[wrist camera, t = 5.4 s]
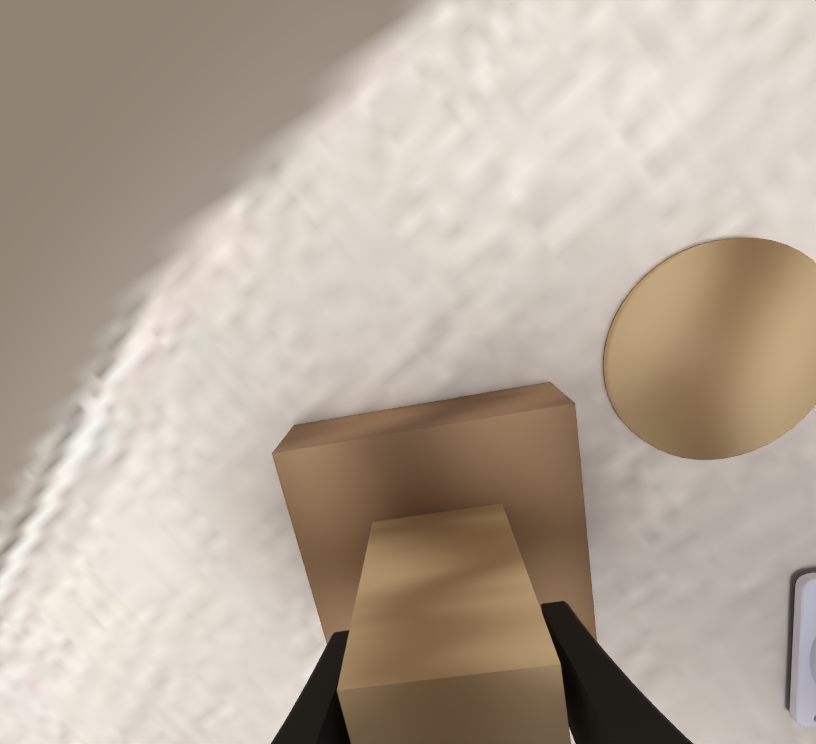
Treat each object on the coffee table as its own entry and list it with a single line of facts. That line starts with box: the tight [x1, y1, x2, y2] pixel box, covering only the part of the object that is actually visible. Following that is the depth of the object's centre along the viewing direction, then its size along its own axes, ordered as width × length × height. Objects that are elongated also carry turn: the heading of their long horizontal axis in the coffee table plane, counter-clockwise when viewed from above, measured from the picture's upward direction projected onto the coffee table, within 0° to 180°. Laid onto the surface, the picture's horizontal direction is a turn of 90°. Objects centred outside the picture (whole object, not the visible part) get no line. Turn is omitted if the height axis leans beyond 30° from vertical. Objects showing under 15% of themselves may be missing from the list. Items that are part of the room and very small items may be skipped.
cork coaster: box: [604, 238, 816, 460], centre depth 15 cm, size 8×8×1 cm
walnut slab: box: [272, 382, 597, 644], centre depth 16 cm, size 10×10×3 cm
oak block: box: [337, 503, 571, 744], centre depth 11 cm, size 4×4×6 cm
